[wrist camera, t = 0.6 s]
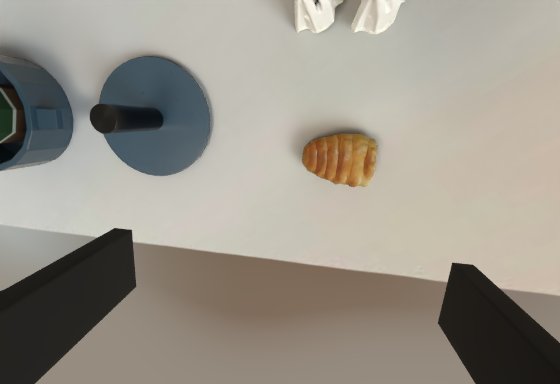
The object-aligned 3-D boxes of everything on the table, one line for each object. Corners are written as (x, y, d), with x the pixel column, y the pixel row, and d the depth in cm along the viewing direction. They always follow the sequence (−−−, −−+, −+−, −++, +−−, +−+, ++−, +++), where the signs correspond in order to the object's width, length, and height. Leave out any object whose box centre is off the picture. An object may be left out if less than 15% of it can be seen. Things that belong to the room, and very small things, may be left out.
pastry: (300, 178, 39) (299, 183, 36) (305, 128, 38) (304, 129, 34) (369, 185, 38) (375, 192, 35) (377, 135, 37) (385, 136, 33)
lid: (100, 54, 38) (22, 29, 28) (213, 62, 37) (175, 40, 27) (108, 168, 42) (42, 184, 32) (210, 179, 41) (176, 199, 30)
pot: (-46, 54, 40) (-110, 42, 34) (86, 65, 39) (43, 54, 32) (-27, 156, 44) (-81, 162, 38) (94, 170, 42) (58, 178, 36)
